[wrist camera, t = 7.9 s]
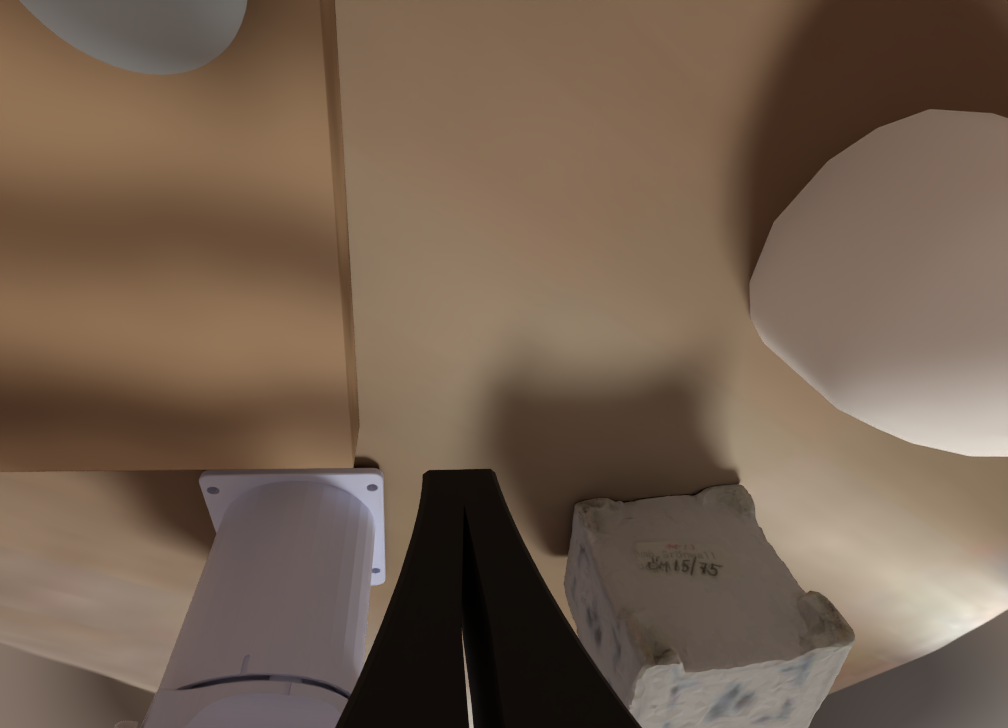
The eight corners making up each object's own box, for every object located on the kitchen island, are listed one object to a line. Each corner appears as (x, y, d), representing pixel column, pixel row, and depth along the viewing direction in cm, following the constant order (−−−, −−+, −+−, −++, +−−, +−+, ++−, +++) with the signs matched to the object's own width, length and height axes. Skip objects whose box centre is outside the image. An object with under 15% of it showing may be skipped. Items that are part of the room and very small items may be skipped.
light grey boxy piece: (749, 466, 28) (885, 667, 20) (702, 554, 33) (796, 745, 25) (577, 474, 27) (647, 695, 18) (555, 565, 32) (602, 772, 23)
